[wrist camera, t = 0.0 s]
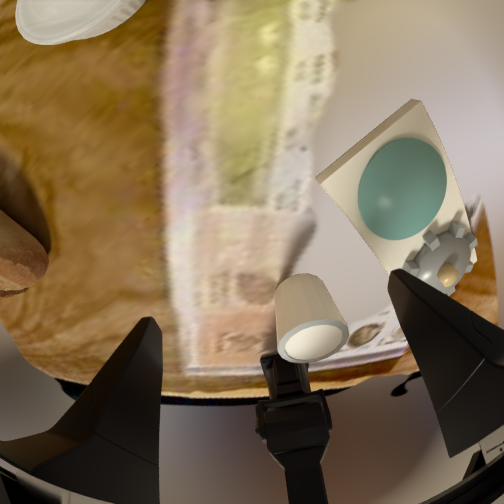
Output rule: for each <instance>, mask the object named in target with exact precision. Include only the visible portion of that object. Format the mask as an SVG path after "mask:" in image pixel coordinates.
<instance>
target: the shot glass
mask: <svg viewBox="0 0 504 504" xmlns="http://www.w3.org/2000/svg"><path fill="white" fill-rule="evenodd" d="M275 314H276V331H277V349H278V352H279V354H280V356H281V357H282V358H283V359H285V360H287V361H289V362H294V363H310V362H316V361H319V360H322V359H325V358H328V357H329V356H331V355H333V354H334V353H336V352H338V351H339V350H340V349H341V348H342V347H343V346H344V345H345V344H346V342H347V339H348V337H349V331H348V327H347V325H346V323H345V321H344V319H343V317H342V316H341V314H340V312H339V310H338V308H337V307H336V305H335V303H334V301H333V299H332V297H331V296H330V294H329V292H328V290H327V288H326V287H325V285H324V283H323V281H322V280H320V279H319V278H318V277H317V276H314V275H311V274H297V275H294V276H291V277H288V278H287V279H285V280H284V281H283V282H282V283H280V284H279V286H278V288H277V289H276V291H275Z"/></svg>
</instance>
